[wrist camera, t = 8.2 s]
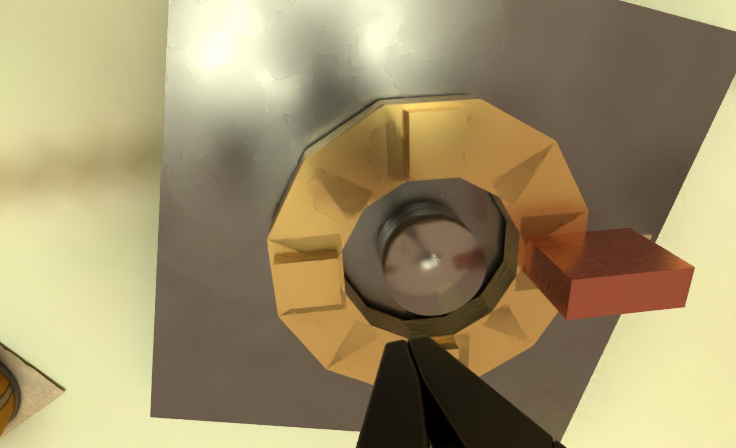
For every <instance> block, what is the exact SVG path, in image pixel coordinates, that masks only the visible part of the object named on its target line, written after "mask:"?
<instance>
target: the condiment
mask: <svg viewBox="0 0 736 448" xmlns="http://www.w3.org/2000/svg"><path fill="white" fill-rule="evenodd" d="M63 393H64V391H62V390H61V389H59V388H58V387H56V386H55V385H54V384H53V383H51V382H50V381H49V380H47V379H46V378H45V377H43V376H42V375H41V374H40V373H38V372H37V371H36V370H35V369H33V368H32V367H30V366H28V365H26V364H25V363H24V362H23V361H22V360H21V359H19V358H18V357H17V356H15V355H14V354H12V353H11V352H10V351H7V350H5V349H4V348H3V347H2V346H1V345H0V438H2V437H3V436H4V435H6V434H7V433H8V432H10V431H11V430H12V429H14V428H15V427H17V426H18V425H19V424H21V423H22V422H24V421H25V420H26V419H28V418H29V417H31V416H32V415H33V414H35V413H36V412H38V411H39V410H41V409H42V408H44V407H45V406H46V405H48V404H49V403H51V402H52V401H53V400H55V399H56V398H57V397H59V396H60V395H61V394H63Z"/></svg>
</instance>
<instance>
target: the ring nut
mask: <svg viewBox="0 0 736 448" xmlns="http://www.w3.org/2000/svg"><path fill="white" fill-rule="evenodd" d="M456 177H460V178H462V179H464V180H466V181H468V182H470V183H472V184H474V185H476V186H478V187H480V188H482V189H484V190H486V191H488V192H490V193H491V195H492V196H493V198H494V200H495V202H496V203H497V205H498V207H499V209H500V211H501V212H502V214H503V216H504V218H505V219H506V235H505V248H504V261H503V263H502V264H501V266H500V267H499V269H498V270H497V272H496V273H495V275H494V276H493V278H492V279H491V281H490V282H489V284H488V285H487V287H486V288H485V290H484V291H483V293H482V294H481V295H480V296H479V297H477V298H475V299H474V300H472V301H470V302H469V303H467V304H465V305H464V306H462V307H460V308H459V309H457V310H455V311H454V312H452V313H450V314H449V315H447V316H445V317H438V318H428V319H419V320H410V321H403V320H400V319H397V318H395V317H392V316H389V315H387V314H384V313H382V312H379V311H376V310H374V309H371V308H368V307H367V306H366V305H365V304H364V302H363V301H362V300H361V299H360V297H359V296H358V295H357V294H356V292H355V291H354V290H353V288H352V287H351V286H350V285H349V283H348V282H347V281H346V280H345V278H344V271H343V259H342V250H343V248H344V246H345V244H346V242H347V240H348V238H349V236H350V235H351V233H352V231H353V229H354V227H355V225H356V223H357V221H358V219H359V218H360V216H361V214H362V212H363V210H364V209H365V208H366V207H368V206H369V205H371V204H372V203H374V202H375V201H377V200H378V199H380V198H382V197H383V196H385V195H386V194H388V193H389V192H391V191H392V190H394V189H395V188H397V187H399V186H400V185H402V184H403V183H405V182H406V181H419V180H431V179H443V178H456ZM588 213H589V210H588V208H587V206H586V204H585V202H584V200H583V197H582V195H581V193H580V191H579V189H578V187H577V185H576V182H575V180H574V178H573V176H572V174H571V172H570V170H569V167H568V165H567V163H566V161H565V159H564V157H563V155H562V152H561V150H560V148H559V146H558V144H557V142H556V140H554V139H552V138H550V137H548V136H547V135H545V134H543V133H541V132H539V131H538V130H536V129H534V128H532V127H530V126H529V125H527V124H525V123H523V122H521V121H520V120H518V119H516V118H514V117H513V116H511V115H509V114H507V113H505V112H504V111H502V110H500V109H498V108H496V107H495V106H493V105H491V104H489V103H487V102H486V101H484V100H482V99H480V98H477V97H474V96H472V95H469V94H463V95H448V96H433V97H418V98H403V99H388V100H380V101H377V102H376V103H374V104H373V105H371V106H370V107H368V108H367V109H366V110H364V111H363V112H361V113H360V114H358V115H357V116H355V117H354V118H352V119H351V120H349V121H348V122H346V123H345V124H343V125H342V126H341V127H339V128H338V129H336V130H335V131H333V132H332V133H330V134H329V135H327V136H326V137H324V138H323V139H321V140H320V141H318V142H317V143H316V144H314V145H313V146H311V147H310V148H308V149H307V150H305V151H304V153H303V156H302V158H301V160H300V162H299V164H298V166H297V169H296V171H295V173H294V175H293V177H292V179H291V182H290V184H289V186H288V188H287V190H286V192H285V194H284V197H283V199H282V201H281V203H280V205H279V207H278V210H277V212H276V214H275V216H274V218H273V220H272V222H271V225H270V228H269V232H268V237H267V245H268V252H269V259H270V265H271V272H272V279H273V285H274V292H275V299H276V305H277V312H278V317H279V318H280V319H281V320H282V321H283V322H284V323H285V324H286V325H287V327H288V328H289V329H290V330H291V331H292V332H293V333H294V334H295V335H296V336H297V338H298V339H299V340H300V341H301V342H302V343H303V344H304V345H305V346H306V347H307V349H308V350H309V351H310V352H311V353H312V354H313V355H314V356H315V357H316V359H317V360H318V361H319V362H320V363H321V364H322V365H323V366H324V367H325V368H326V369H327V370H330V371H333V372H336V373H339V374H342V375H345V376H348V377H351V378H354V379H357V380H360V381H363V382H366V383H369V384H372V385H374V382H375V378H376V375H377V371H378V367H379V364H380V360H381V357H382V353H383V350H384V346H385V344H386V343H388V342H392V341H397V340H402V339H403V340H405V341H406V342H407V340H408V339H409V338H411V337H416V336H421V335H428V336H429V337H430V338H432V339H433V340H434V341H435V342H437V343H438V344H439V345H440V346H442V347H443V348H444V349H445V350H447V351H448V352H449V353H450V354H451V355H453V356H454V357H455V358H456V359H458V360H459V361H460V362H461V363H463V364H464V365H465V366H466V367H467V368H469V369H470V370H471V371H472V372H474V373H475V374H476V375H477V376H479V377H480V376H481V375H483V374H485V373H487V372H488V371H490V370H492V369H494V368H495V367H497V366H499V365H501V364H502V363H504V362H506V361H508V360H509V359H511V358H513V357H514V356H516V355H518V354H520V353H521V352H523V351H525V350H527V349H528V348H530V347H532V346H533V345H534V344H535V343H536V341H537V340H538V339H539V337H540V336H541V334H542V333H543V332H544V330H545V329H546V328H547V326H548V325H549V324H550V322H551V321H552V320H553V318H554V317H555V315H556V314H557V313H558V311H559V313H560V314H561V315H562V316H563V317H564V318H565V319H566V320H572V319H581V318H590V317H599V316H608V315H617V314H626V313H635V312H644V311H653V310H662V309H671V308H680V307H685V304H686V300H687V296H688V292H689V288H690V284H691V280H692V276H693V273H694V269H695V267H694V266H692V265H690V264H689V263H687V262H685V261H684V260H682V259H680V258H679V257H677V256H675V255H674V254H672V253H670V252H669V251H667V250H666V249H664V248H662V247H661V246H659V245H657V244H656V243H654V242H652V241H651V240H649V239H647V238H646V237H644V236H643V235H641V234H639V233H638V232H636V231H634V230H633V229H631V228H621V229H610V230H599V231H589V232H586V226H587V220H588Z"/></svg>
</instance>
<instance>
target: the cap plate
mask: <svg viewBox="0 0 736 448" xmlns="http://www.w3.org/2000/svg"><path fill="white" fill-rule="evenodd" d="M735 74H736V32H735V31H731V30H727V29H724V28H720V27H716V26H713V25H709V24H705V23H701V22H698V21H694V20H690V19H687V18H683V17H679V16H676V15H672V14H668V13H664V12H661V11H657V10H653V9H650V8H646V7H642V6H638V5H635V4H631V3H627V2H624V1H620V0H169V9H168V32H167V54H166V76H165V99H164V121H163V144H162V166H161V188H160V211H159V233H158V255H157V278H156V300H155V323H154V345H153V367H152V390H151V412H150V417H156V418H171V419H185V420H200V421H214V422H229V423H243V424H258V425H272V426H287V427H301V428H316V429H330V430H345V431H359V432H360V431H361V428H362V424H363V421H364V417H365V414H366V410H367V406H368V403H369V399H370V396H371V392H372V389H373V385H372V384H369V383H366V382H363V381H360V380H357V379H354V378H351V377H348V376H345V375H342V374H339V373H336V372H333V371H330V370H327V369H326V368H325V367H324V366H323V365H322V364H321V363H320V362H319V361H318V360H317V359H316V357H315V356H314V355H313V354H312V353H311V352H310V351H309V350H308V349H307V347H306V346H305V345H304V344H303V343H302V342H301V341H300V340H299V339H298V338H297V336H296V335H295V334H294V333H293V332H292V331H291V330H290V329H289V328H288V327H287V325H286V324H285V323H284V322H283V321H282V320H281V319H280V318H279V317H278V312H277V305H276V299H275V292H274V285H273V279H272V272H271V265H270V259H269V252H268V245H267V237H268V232H269V228H270V225H271V222H272V220H273V218H274V216H275V214H276V212H277V210H278V207H279V205H280V203H281V201H282V199H283V197H284V194H285V192H286V190H287V188H288V186H289V184H290V182H291V179H292V177H293V175H294V173H295V171H296V169H297V166H298V164H299V162H300V160H301V158H302V156H303V153H304V151H305V150H307V149H308V148H310V147H311V146H313V145H314V144H316V143H317V142H318V141H320V140H321V139H323V138H324V137H326V136H327V135H329V134H330V133H332V132H333V131H335V130H336V129H338V128H339V127H341V126H342V125H343V124H345V123H346V122H348V121H349V120H351V119H352V118H354V117H355V116H357V115H358V114H360V113H361V112H363V111H364V110H366V109H367V108H368V107H370V106H371V105H373V104H374V103H376V102H377V101H380V100H388V99H403V98H418V97H433V96H448V95H463V94H469V95H472V96H474V97H477V98H480V99H482V100H484V101H486V102H487V103H489V104H491V105H493V106H495V107H496V108H498V109H500V110H502V111H504V112H505V113H507V114H509V115H511V116H513V117H514V118H516V119H518V120H520V121H521V122H523V123H525V124H527V125H529V126H530V127H532V128H534V129H536V130H538V131H539V132H541V133H543V134H545V135H547V136H548V137H550V138H552V139H554V140H556V142H557V144H558V146H559V148H560V150H561V152H562V155H563V157H564V159H565V161H566V163H567V165H568V167H569V170H570V172H571V174H572V176H573V178H574V180H575V182H576V185H577V187H578V189H579V191H580V193H581V195H582V197H583V200H584V202H585V204H586V206H587V208H588V210H589V213H588V220H587V226H586V232H589V231H599V230H610V229H621V228H631V229H633V230H634V231H636V232H638V233H639V234H641V235H643V236H644V237H646V238H647V239H649V240H651V241H652V242H654V243H655V242H656V240H657V238H658V235H659V233H660V231H661V229H662V227H663V225H664V223H665V221H666V219H667V216H668V214H669V212H670V210H671V208H672V206H673V204H674V202H675V200H676V198H677V195H678V193H679V191H680V189H681V187H682V185H683V183H684V181H685V179H686V177H687V174H688V172H689V170H690V168H691V166H692V164H693V162H694V160H695V158H696V156H697V153H698V151H699V149H700V147H701V145H702V143H703V141H704V139H705V137H706V134H707V132H708V130H709V128H710V126H711V124H712V122H713V120H714V118H715V116H716V113H717V111H718V109H719V107H720V105H721V103H722V101H723V99H724V97H725V95H726V92H727V90H728V88H729V86H730V84H731V82H732V80H733V78H734V76H735ZM505 235H506V219H505V218H504V216H503V214H502V212H501V211H500V209H499V207H498V205H497V203H496V202H495V200H494V198H493V196H492V195H491V193H490V192H488V191H486V190H484V189H482V188H480V187H478V186H476V185H474V184H472V183H470V182H468V181H466V180H464V179H462V178H460V177H456V178H443V179H431V180H419V181H406V182H405V183H403V184H402V185H400V186H399V187H397V188H395V189H394V190H392V191H391V192H389V193H388V194H386V195H385V196H383V197H382V198H380V199H378V200H377V201H375V202H374V203H372V204H371V205H369V206H368V207H366V208H365V209H364V210H363V212H362V214H361V216H360V218H359V219H358V221H357V223H356V225H355V227H354V229H353V231H352V233H351V235H350V236H349V238H348V240H347V242H346V244H345V246H344V248H343V250H342V259H343V271H344V278H345V280H346V281H347V282H348V283H349V285H350V286H351V287H352V288H353V290H354V291H355V292H356V294H357V295H358V296H359V297H360V299H361V300H362V301H363V302H364V304H365V305H366V306H367V307H368V308H371V309H374V310H376V311H379V312H382V313H384V314H387V315H389V316H392V317H395V318H397V319H400V320H403V321H410V320H419V319H428V318H438V317H445V316H447V315H449V314H450V313H452V312H454V311H455V310H457V309H459V308H460V307H462V306H464V305H465V304H467V303H469V302H470V301H472V300H474V299H475V298H477V297H479V296H480V295H481V294H482V293H483V291H484V290H485V288H486V287H487V285H488V284H489V282H490V281H491V279H492V278H493V276H494V275H495V273H496V272H497V270H498V269H499V267H500V266H501V264H502V263H503V261H504V248H505ZM620 315H621V314H617V315H608V316H599V317H590V318H581V319H572V320H566V319H565V318H564V317H563V316H562V315H561V314H560V313H559V311H558V313H557V314H556V315H555V317H554V318H553V320H552V321H551V322H550V324H549V325H548V326H547V328H546V329H545V330H544V332H543V333H542V334H541V336H540V337H539V339H538V340H537V341H536V343H535V344H534V345H533V346H532V347H530V348H528V349H527V350H525V351H523V352H521V353H520V354H518V355H516V356H514V357H513V358H511V359H509V360H508V361H506V362H504V363H502V364H501V365H499V366H497V367H495V368H494V369H492V370H490V371H488V372H487V373H485V374H483V375H481V376H480V378H481V379H482V380H483V381H485V382H486V383H487V384H488V385H490V386H491V387H492V388H493V389H495V390H496V391H497V392H498V393H499V394H501V395H502V396H503V397H504V398H506V399H507V400H508V401H509V402H511V403H512V404H513V405H514V406H515V407H517V408H518V409H519V410H520V411H522V412H523V413H524V414H525V415H527V416H528V417H529V418H530V419H531V420H533V421H534V422H535V423H536V424H538V425H539V426H540V427H541V428H543V429H544V430H545V431H546V432H548V433H549V434H550V435H551V436H552V437H553V438H554V441H555V440H557V441H559V442H560V441H561V439H562V437H563V435H564V433H565V431H566V429H567V427H568V425H569V422H570V420H571V418H572V416H573V414H574V412H575V410H576V408H577V406H578V404H579V401H580V399H581V397H582V395H583V393H584V391H585V389H586V387H587V385H588V383H589V380H590V378H591V376H592V374H593V372H594V370H595V368H596V366H597V364H598V362H599V359H600V357H601V355H602V353H603V351H604V349H605V347H606V345H607V343H608V341H609V338H610V336H611V334H612V332H613V330H614V328H615V326H616V324H617V322H618V319H619V317H620Z"/></svg>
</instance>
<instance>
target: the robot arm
mask: <svg viewBox="0 0 736 448" xmlns="http://www.w3.org/2000/svg"><path fill="white" fill-rule="evenodd" d="M356 448H566V447H565V446H564V445H563V444H561V443H560V442H559V441H557V440H555V441H554V438H553V437H552V436H551V435H550V434H549V433H548V432H546V431H545V430H544V429H543V428H541V427H540V426H539V425H538V424H536V423H535V422H534V421H533V420H531V419H530V418H529V417H528V416H527V415H525V414H524V413H523V412H522V411H520V410H519V409H518V408H517V407H515V406H514V405H513V404H512V403H511V402H509V401H508V400H507V399H506V398H504V397H503V396H502V395H501V394H499V393H498V392H497V391H496V390H495V389H493V388H492V387H491V386H490V385H488V384H487V383H486V382H485V381H483V380H482V379H481V378H480V377H479V376H477V375H476V374H475V373H474V372H472V371H471V370H470V369H469V368H467V367H466V366H465V365H464V364H463V363H461V362H460V361H459V360H458V359H456V358H455V357H454V356H453V355H451V354H450V353H449V352H448V351H447V350H445V349H444V348H443V347H442V346H440V345H439V344H438V343H437V342H435V341H434V340H433V339H432V338H430V337H429V336H428V335H421V336H416V337H411V338H409V339H408V340H407V342H406V341H405V340H403V339H402V340H397V341H392V342H388V343H386V344H385V346H384V350H383V353H382V357H381V360H380V364H379V367H378V371H377V375H376V378H375V382H374V385H373V389H372V392H371V396H370V399H369V403H368V406H367V410H366V414H365V417H364V421H363V424H362V428H361V431H360V435H359V438H358V442H357V446H356Z"/></svg>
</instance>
